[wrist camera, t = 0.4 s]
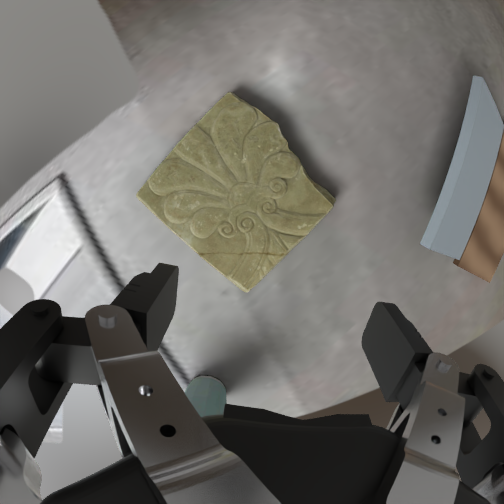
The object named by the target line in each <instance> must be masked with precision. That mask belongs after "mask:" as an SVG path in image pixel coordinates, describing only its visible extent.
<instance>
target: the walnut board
mask: <svg viewBox="0 0 504 504" xmlns="http://www.w3.org/2000/svg"><path fill="white" fill-rule="evenodd" d="M503 124H504V123H503ZM503 253H504V130H503V134H502V139H501V143H500V147H499V151H498V155H497V159H496V162H495V166H494V170H493V173H492V176H491V180H490V183H489V186H488V189H487V192H486V195H485V198H484V201H483V204H482V207H481V209H480V212H479V215H478V217H477V220H476V223H475V225H474V228H473V230H472V233H471V235H470V237H469V240H468V242H467V244H466V247H465V249H464V251H463V254H462V256H461V258H460V260H458V259H455V260H454V262H453V263H454V264H455V265H457V266H459V267H461V268H462V269H464V270H466V271H468V272H470V273H472V274H474V275H476V276H478V277H480V278H482V279H484V280H486V281H487V282H489V283H490V281H491V279H492V277H493V275H494V273H495V271H496V269H497V266H498V264H499V262H500V260H501V257H502V255H503Z"/></svg>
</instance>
